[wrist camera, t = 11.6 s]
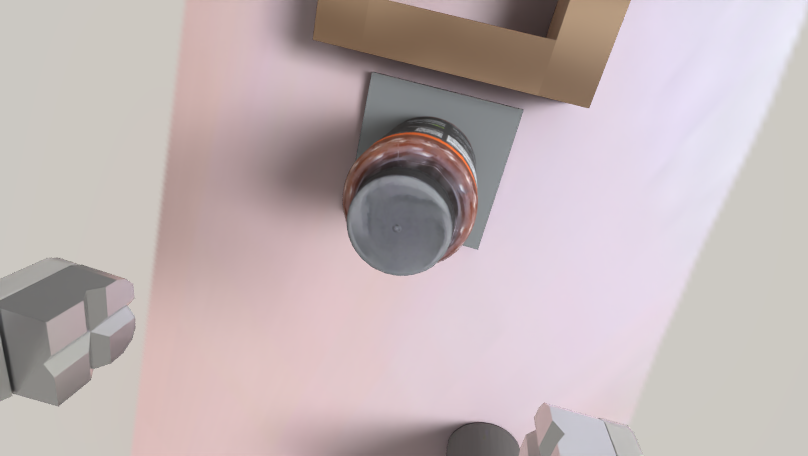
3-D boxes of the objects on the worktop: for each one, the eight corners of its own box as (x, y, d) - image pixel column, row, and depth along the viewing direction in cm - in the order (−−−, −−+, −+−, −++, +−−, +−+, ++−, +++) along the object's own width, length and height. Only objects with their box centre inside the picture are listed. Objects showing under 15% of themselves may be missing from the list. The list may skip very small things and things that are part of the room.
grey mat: (374, 71, 25) (371, 72, 24) (522, 109, 24) (523, 110, 24) (348, 210, 28) (345, 213, 28) (477, 245, 28) (477, 249, 27)
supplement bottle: (396, 219, 27) (348, 312, 17) (367, 130, 26) (292, 172, 15) (487, 197, 26) (495, 284, 15) (462, 101, 24) (453, 125, 14)
